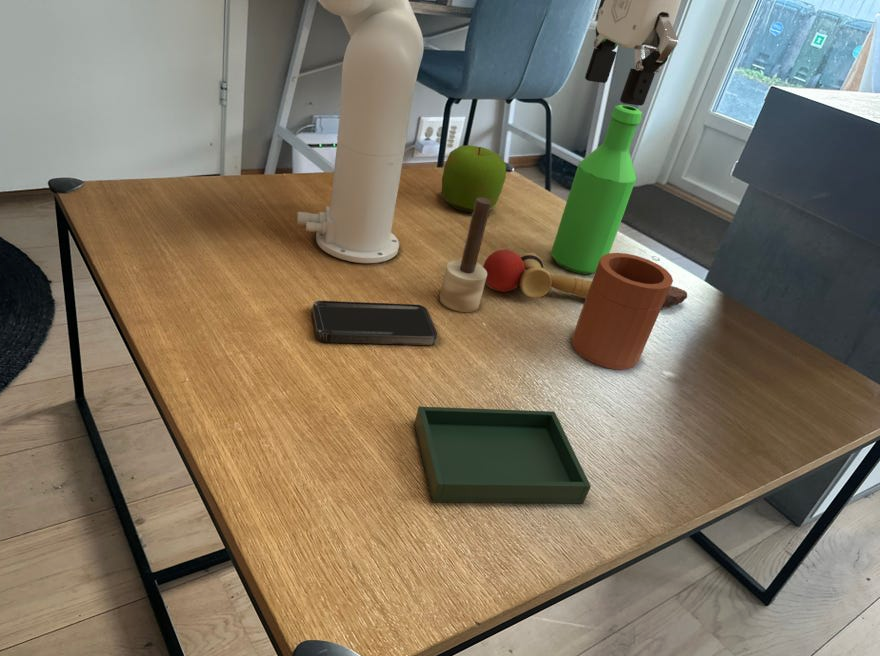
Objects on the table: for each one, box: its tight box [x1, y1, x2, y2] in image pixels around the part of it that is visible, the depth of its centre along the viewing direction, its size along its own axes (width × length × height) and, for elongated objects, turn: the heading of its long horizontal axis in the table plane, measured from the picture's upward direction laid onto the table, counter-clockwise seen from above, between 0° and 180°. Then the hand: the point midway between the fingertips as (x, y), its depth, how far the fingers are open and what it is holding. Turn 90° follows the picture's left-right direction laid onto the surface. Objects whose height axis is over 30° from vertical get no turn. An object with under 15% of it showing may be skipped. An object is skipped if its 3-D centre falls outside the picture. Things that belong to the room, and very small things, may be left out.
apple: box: [441, 144, 507, 213], centre depth 125 cm, size 11×11×11 cm
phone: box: [311, 300, 438, 346], centre depth 88 cm, size 8×1×15 cm
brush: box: [439, 197, 491, 313], centre depth 94 cm, size 6×6×15 cm
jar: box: [571, 252, 674, 370], centre depth 90 cm, size 9×9×12 cm
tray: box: [414, 406, 592, 504], centre depth 71 cm, size 15×11×2 cm
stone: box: [661, 285, 688, 309], centre depth 107 cm, size 7×7×3 cm
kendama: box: [482, 249, 592, 300], centre depth 102 cm, size 8×6×18 cm
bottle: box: [551, 104, 643, 275], centre depth 108 cm, size 9×9×25 cm
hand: (612, 92), depth 92 cm, fingers open, 9 cm apart
